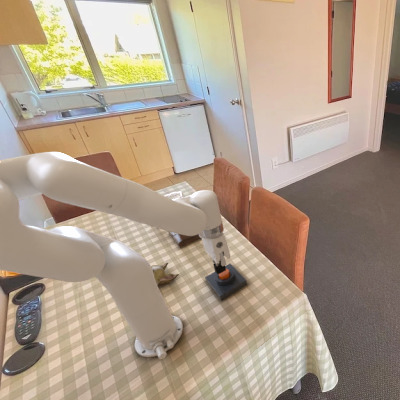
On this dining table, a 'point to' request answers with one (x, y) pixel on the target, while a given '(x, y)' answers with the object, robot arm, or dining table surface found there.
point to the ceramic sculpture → (162, 274)
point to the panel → (184, 239)
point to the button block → (226, 282)
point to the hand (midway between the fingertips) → (220, 271)
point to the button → (224, 274)
